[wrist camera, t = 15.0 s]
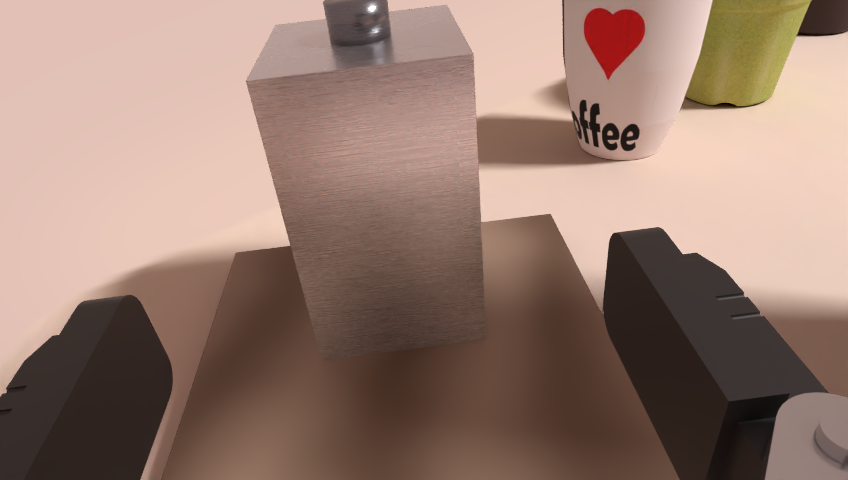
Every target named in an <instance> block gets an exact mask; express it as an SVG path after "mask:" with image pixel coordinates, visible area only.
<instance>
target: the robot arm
mask: <svg viewBox="0 0 848 480" xmlns="http://www.w3.org/2000/svg"><path fill="white" fill-rule="evenodd" d="M603 311H604V319H605V324H606V328H607V331H608V334H609V337H610V339H611V341H612V343H613V345H614V347H615V349H616V351H617V353H618V355H619V357H620V359H621V362H622V364H623V366H624V368H625V370H626V372H627V374H628V376H629V378H630V380H631V382H632V384H633V386H634V388H635V390H636V392H637V394H638V396H639V398H640V400H641V402H642V404H643V406H644V408H645V410H646V412H647V414H648V416H649V418H650V420H651V422H652V424H653V426H654V428H655V430H656V432H657V434H658V436H659V439H660V441H661V443H662V445H663V447H664V449H665V451H666V453H667V455H668V457H669V459H670V461H671V463H672V465H673V467H674V469H675V471H676V473H677V475H678V477H679V479H680V480H848V397H844V396H841V395H837V394H830V393H828V391H827V390H826V389H825V388H824V387H823V386H822V385H821V383H820V382H819V381H818V380H817V379H816V378H815V376H814V375H813V374H812V373H811V372H810V370H809V369H808V368H807V367H806V366H805V364H804V363H803V362H802V361H801V360H800V359H799V357H798V356H797V355H796V354H795V353H794V351H793V350H792V349H791V348H790V347H789V346H788V344H787V343H786V342H785V341H784V340H783V338H782V337H781V336H780V335H779V334H778V332H777V331H776V330H775V329H774V328H773V327H772V325H771V324H770V323H769V322H768V321H767V319H766V318H765V317H764V316H763V317H761V316H760V311H759V310H758V309H757V308H756V306H755V305H754V304H753V303H752V302H751V301H750V299H749V298H748V297H744V292H743V291H742V290H741V289H740V287H739V286H738V285H737V284H736V283H735V282H734V280H733V279H732V278H731V277H730V276H729V274H728V273H727V272H726V271H725V270H724V269H722V268H720V267H719V266H717V265H716V264H714V263H712V262H711V261H709V260H707V259H706V258H704V257H702V256H701V255H699V254H698V253H690V254H682V253H681V252H680V250H679V249H678V248H677V246H676V245H675V244H674V242H673V241H672V240H671V239H670V237H669V236H668V235H667V233H666V232H665V231H664V230H663V229H662V228H659V227H656V228H648V229H641V230H633V231H625V232H618V233H614V234H612V236H611V238H610V242H609V249H608V259H607V269H606V280H605V290H604V300H603ZM172 382H173V376H172V368H171V363H170V360H169V358H168V356H167V354H166V352H165V350H164V348H163V346H162V344H161V342H160V340H159V338H158V336H157V334H156V332H155V330H154V328H153V326H152V324H151V322H150V320H149V318H148V316H147V314H146V312H145V310H144V308H143V306H142V304H141V302H140V301H139V300H138V299H137V298H136V297H135V296H132V295H126V296H119V297H111V298H104V299H96V300H88V301H84V302H82V303H80V304H79V305H78V306H77V308H76V309H75V311H74V312H73V314H72V315H71V317H70V319H69V320H68V322H67V323H66V325H65V326H64V328H63V330H62V331H61V333H60V334H59V335H55V336H52V337H51V338H50V339H49V340H48V341H46V342H45V343H44V344H43V345H42V346H41V347H40V348H39V349H37V350H36V351H35V352H34V353H33V354H32V355H31V356H29V357H28V358H27V359H26V360H25V361H24V362H23V364H22V365H21V367H20V368H19V370H18V371H17V373H16V374H15V376H14V377H13V379H12V380H11V382H10V383H9V385H8V386H7V388H6V389H7V393H5V394H2V395H1V397H0V480H140V479H141V476H142V473H143V470H144V467H145V465H146V462H147V459H148V456H149V454H150V451H151V448H152V445H153V442H154V440H155V437H156V434H157V431H158V429H159V426H160V423H161V420H162V417H163V415H164V412H165V409H166V406H167V403H168V401H169V398H170V395H171V391H172Z"/></svg>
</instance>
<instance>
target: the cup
mask: <svg viewBox="0 0 848 480" xmlns="http://www.w3.org/2000/svg"><path fill="white" fill-rule="evenodd" d="M712 1H713V0H562V3H563V4H562V6H563V57H564V64H565V73H566V81H567V90H568V98H569V106H570V111H571V114H572V118H573V122H574V125H575V129H576V133H577V136H578V140H579V144H580V146H581V148H582V149H583V150H585V151H586V152H588V153H590V154H592V155H594V156H597V157H601V158H605V159H612V160H635V159H641V158H645V157H648V156H651V155H653V154H655V153H656V152H657V151H658V150H659V149H660V148H661V146H662V144H663V142H664V140H665V138H666V136H667V134H668V132H669V130H670V128H671V127H672V125H673V123H674V121H675V119H676V117H677V115H678V113H679V111H680V108H681V106H682V103H683V100H684V97H685V94H686V92H687V89H688V86H689V83H690V80H691V77H692V75H693V72H694V69H695V66H696V63H697V61H698V58H699V55H700V51H701V47H702V43H703V38H704V34H705V30H706V26H707V22H708V18H709V14H710V9H711V5H712Z"/></svg>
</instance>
